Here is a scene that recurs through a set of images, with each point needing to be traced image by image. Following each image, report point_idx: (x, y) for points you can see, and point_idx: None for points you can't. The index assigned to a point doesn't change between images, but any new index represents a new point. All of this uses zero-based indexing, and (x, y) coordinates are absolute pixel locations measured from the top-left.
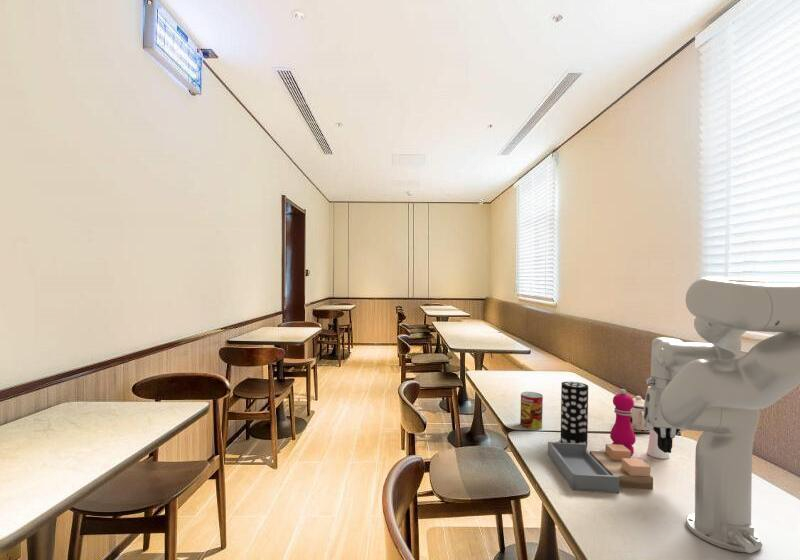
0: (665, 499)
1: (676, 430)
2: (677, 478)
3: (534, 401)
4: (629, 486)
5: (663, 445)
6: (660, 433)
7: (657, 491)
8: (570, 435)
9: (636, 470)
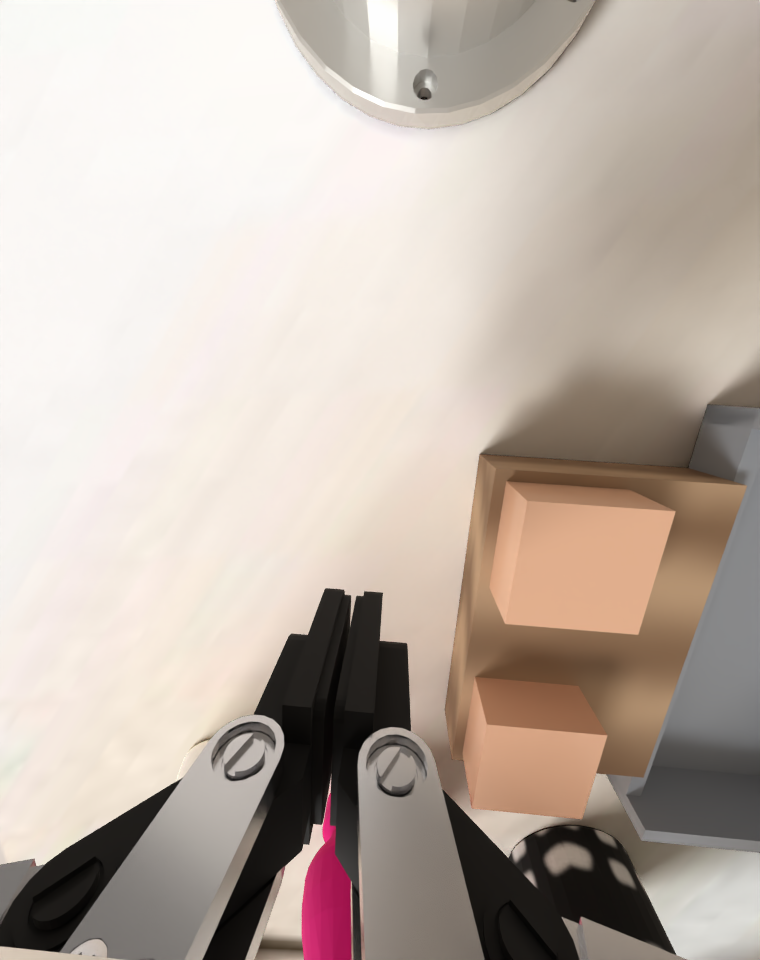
0: (489, 343)
1: (98, 882)
2: (274, 565)
3: None
4: (607, 463)
5: (378, 656)
6: (442, 816)
7: (472, 430)
8: (653, 924)
9: (613, 497)
